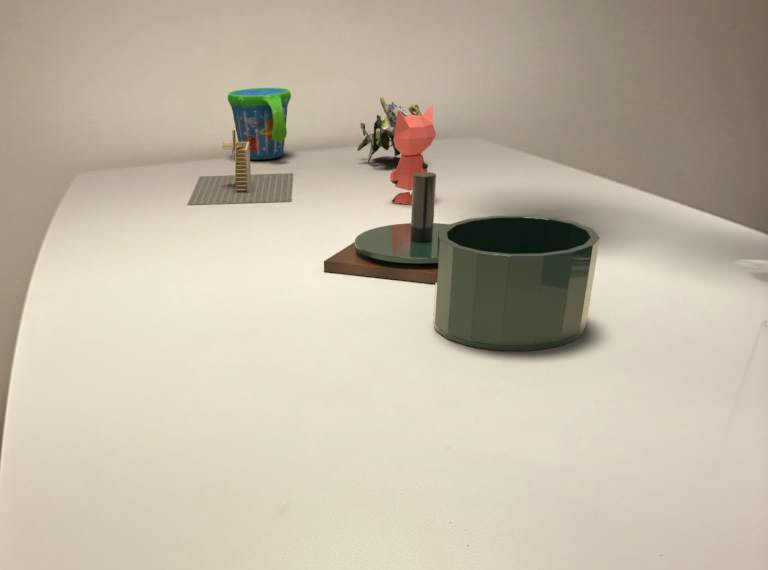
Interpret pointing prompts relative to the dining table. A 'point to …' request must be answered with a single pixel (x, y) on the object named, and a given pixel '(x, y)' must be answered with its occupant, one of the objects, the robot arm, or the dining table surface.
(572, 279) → the pot
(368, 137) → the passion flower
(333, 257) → the board
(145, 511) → the dining table surface
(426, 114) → the cat figurine
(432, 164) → the dining table surface
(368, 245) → the lid
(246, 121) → the snack cup
